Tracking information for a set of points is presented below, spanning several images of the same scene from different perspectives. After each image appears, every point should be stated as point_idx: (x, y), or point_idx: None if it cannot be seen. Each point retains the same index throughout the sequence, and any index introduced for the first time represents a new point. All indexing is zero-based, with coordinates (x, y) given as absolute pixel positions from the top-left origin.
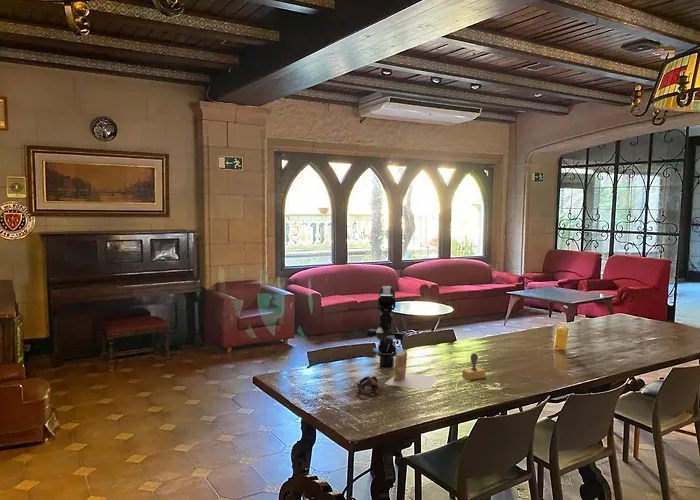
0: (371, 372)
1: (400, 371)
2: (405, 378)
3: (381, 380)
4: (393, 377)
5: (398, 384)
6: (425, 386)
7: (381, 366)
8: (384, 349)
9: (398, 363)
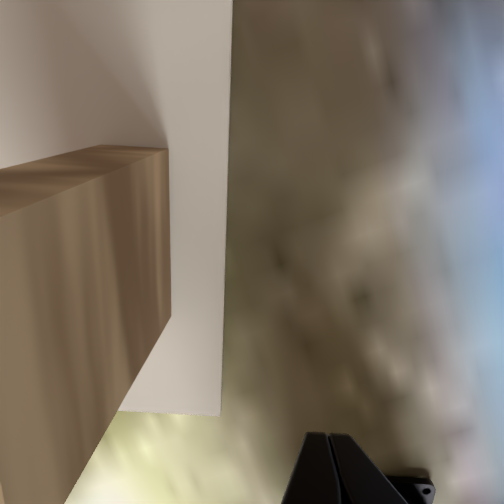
0: (471, 342)
1: (36, 161)
2: None
3: (311, 142)
4: (209, 249)
5: (73, 39)
6: None
7: (409, 493)
8: (373, 474)
9: (2, 184)
